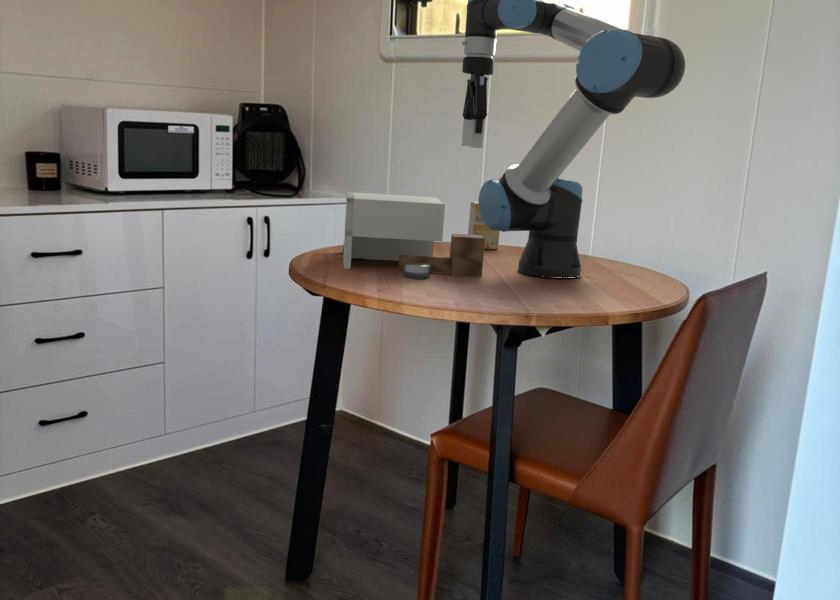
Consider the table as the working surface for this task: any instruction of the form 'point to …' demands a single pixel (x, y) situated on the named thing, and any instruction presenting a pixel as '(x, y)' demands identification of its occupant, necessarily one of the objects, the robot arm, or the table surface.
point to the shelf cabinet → (391, 226)
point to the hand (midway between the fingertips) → (471, 147)
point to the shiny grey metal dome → (416, 270)
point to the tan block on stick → (455, 257)
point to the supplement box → (482, 228)
